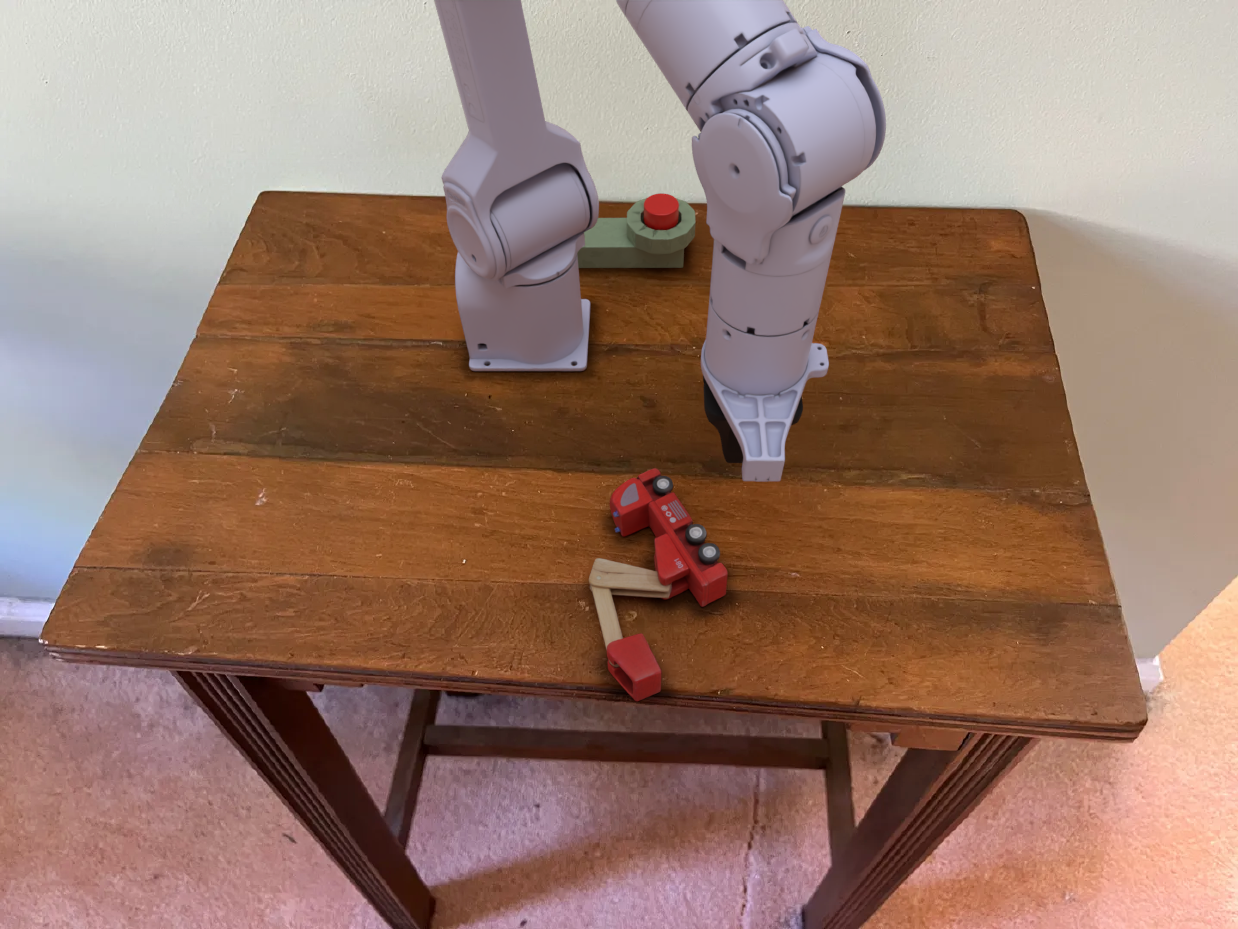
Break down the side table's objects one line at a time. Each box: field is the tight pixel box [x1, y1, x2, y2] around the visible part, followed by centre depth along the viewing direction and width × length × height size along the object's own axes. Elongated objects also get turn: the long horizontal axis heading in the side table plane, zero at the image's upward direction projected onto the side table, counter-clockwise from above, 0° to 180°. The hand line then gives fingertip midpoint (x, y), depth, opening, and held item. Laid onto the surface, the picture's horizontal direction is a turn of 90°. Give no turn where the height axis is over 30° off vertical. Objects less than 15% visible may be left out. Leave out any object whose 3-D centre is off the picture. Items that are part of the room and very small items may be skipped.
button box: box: [577, 197, 696, 269], centre depth 76 cm, size 11×6×4 cm, turn 89°
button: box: [644, 192, 679, 230], centre depth 74 cm, size 3×3×2 cm
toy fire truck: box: [588, 467, 729, 702], centre depth 57 cm, size 3×14×10 cm
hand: (741, 454), depth 56 cm, fingers closed
